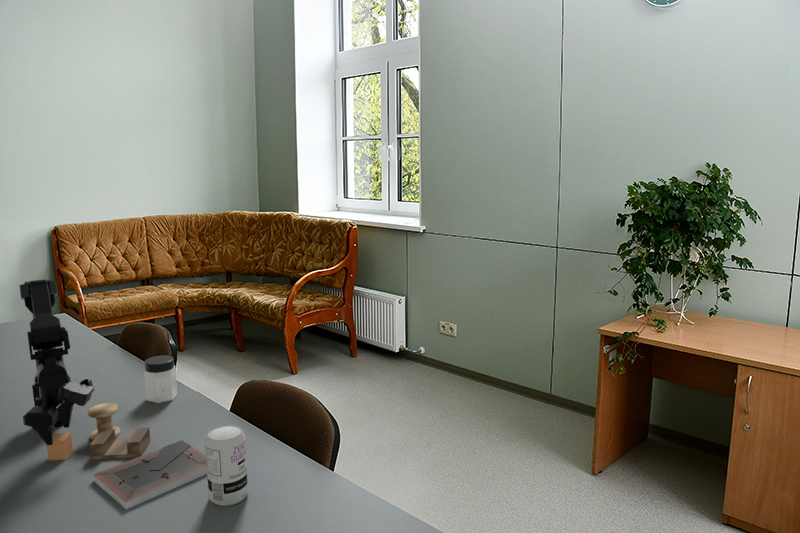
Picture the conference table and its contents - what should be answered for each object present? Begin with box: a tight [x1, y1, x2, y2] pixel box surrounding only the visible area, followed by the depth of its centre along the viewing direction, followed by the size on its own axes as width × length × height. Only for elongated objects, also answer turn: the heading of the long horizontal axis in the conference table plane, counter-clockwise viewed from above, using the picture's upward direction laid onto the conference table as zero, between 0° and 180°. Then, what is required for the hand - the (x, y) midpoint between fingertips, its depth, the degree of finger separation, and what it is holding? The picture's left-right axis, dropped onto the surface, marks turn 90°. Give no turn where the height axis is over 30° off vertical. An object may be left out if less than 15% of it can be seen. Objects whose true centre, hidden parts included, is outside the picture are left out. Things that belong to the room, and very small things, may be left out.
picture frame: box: [92, 439, 207, 510], centre depth 140 cm, size 16×2×22 cm
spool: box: [87, 402, 121, 441], centre depth 158 cm, size 7×7×8 cm
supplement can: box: [204, 424, 249, 507], centre depth 130 cm, size 8×8×15 cm
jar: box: [143, 355, 178, 404], centre depth 182 cm, size 9×8×12 cm
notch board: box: [89, 426, 151, 461], centre depth 151 cm, size 12×8×4 cm
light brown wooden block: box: [46, 432, 74, 461], centre depth 148 cm, size 4×4×5 cm
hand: (58, 435), depth 148 cm, fingers open, 9 cm apart
